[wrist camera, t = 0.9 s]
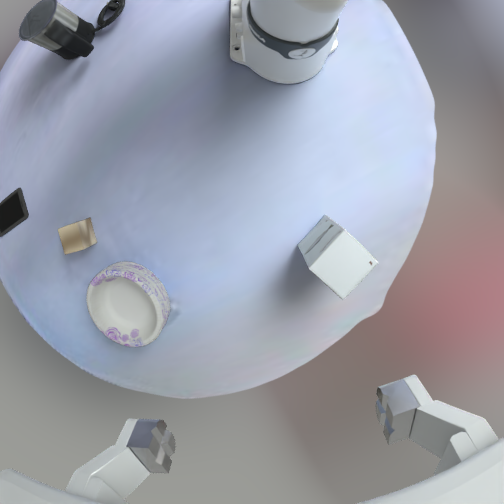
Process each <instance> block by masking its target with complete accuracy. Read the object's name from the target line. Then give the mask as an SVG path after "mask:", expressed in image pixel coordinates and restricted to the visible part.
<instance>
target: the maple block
mask: <svg viewBox="0 0 504 504" xmlns="http://www.w3.org/2000/svg"><path fill="white" fill-rule="evenodd" d="M58 232H59V236H60V239H61V243H62V246H63V249H64V253H65V255H66V254H69V253H73V252H77V251H80V250H84V249H86V248H88V247H90V246H92V245H94V244H95V243H97V240H96V237H95V233H94V230H93V226H92V222H91V219H90V218H88V219H85V220H82V221H79V222H76V223H73V224H70V225H67V226H64V227H62V228H59V229H58Z"/></svg>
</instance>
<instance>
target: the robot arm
mask: <svg viewBox="0 0 504 504" xmlns="http://www.w3.org/2000/svg"><path fill="white" fill-rule="evenodd" d="M347 2H348V0H231V16H230V58H231V59H232V60H233V61H235V62H237V63H240V64H243V65H246V66H248V67H249V68H251V69H252V70H253V71H254V72H256V73H257V74H258V75H260V76H261V77H263V78H265V79H267V80H270V81H273V82H277V83H284V84H293V83H299V82H303V81H306V80H308V79H310V78H312V77H313V76H315V75H316V74H317V73H318V72H319V71H320V70H321V69H322V67H323V65H324V63H325V61H326V59H327V57H328V55H329V54H331V53H332V52H333V51H335V50H336V48H337V46H338V41H337V39H336V36H337V33H338V27H337V26H338V21H339V16H340V14H341V12H342V11H343V9H344V7H345V5H346V4H347ZM236 48H239V50H235V49H236ZM376 394H377V396H378V400H377V402H376V414H377V418H378V421H379V423H380V424H381V425H383V426H384V431H383V433H384V435H385V438H386V440H387V443H388V444H393V443H395V442H398V441H402V440H405V439H408V438H409V439H410V440H412V441H413V442H415V443H417V444H418V445H420V446H421V447H423V448H424V449H426V450H428V451H429V452H431V453H432V454H434V455H436V456H437V457H439V458H441V460H440V462H439V464H438V466H437V468H436V470H435V472H434V474H435V476H432V477H430V478H428V479H426V480H423V481H421V482H418V483H416V484H413V485H411V486H408V487H406V488H403V489H400V490H398V491H395V492H392V493H389V494H386V495H383V496H380V497H377V498H373V499H370V500H367V501H363V502H360V503H356V504H504V437H503V438H501V439H498V437H497V436H496V434H495V433H494V431H493V430H492V428H491V427H490V426H489V424H488V423H487V421H486V420H485V419H484V418H482V417H479V416H477V415H474V414H472V413H469V412H466V411H463V410H461V409H458V408H456V407H453V406H451V405H448V404H445V403H443V402H440V401H438V400H435V401H433V400H432V399H431V397H430V395H429V394H428V392H427V391H426V389H425V388H424V387H423V385H422V383H421V382H420V380H419V379H418V378H417V376H416V375H412V376H409V377H407V378H404V379H400V380H397V381H394V382H392V383H389V384H386V385H383V386H379V387H378V388H377V393H376ZM166 427H167V425H166V423H165V422H164V420H154V419H153V420H152V419H131V418H130V419H128V420H127V421H126V423H125V425H124V427H123V429H122V431H121V434H120V436H119V438H118V440H117V442H116V444H115V446H111V447H109V448H108V449H106V450H105V451H104V452H102V453H101V454H99V455H98V456H96V457H95V458H94V459H92V460H91V461H89V462H88V463H86V464H85V465H83V466H82V467H80V468H79V469H77V470H76V471H75V472H74V474H73V476H72V478H71V480H70V482H69V484H68V486H67V488H66V490H65V491H62V490H59V489H56V488H54V487H51V486H49V485H46V484H44V483H42V482H39V481H37V480H35V479H33V478H30V477H28V476H26V475H24V474H22V473H20V472H18V471H16V470H13V469H6V470H3V471H1V472H0V504H129V503H128V502H127V501H125V500H124V499H125V498H126V497H127V496H128V495H129V494H130V493H131V492H132V491H133V490H134V489H135V488H136V487H137V486H138V485H139V484H140V483H141V482H142V481H143V480H144V479H145V478H146V477H147V476H148V475H149V474H150V472H152V473H169V470H170V466H171V463H172V460H171V459H170V456H171V455H172V454H173V453H174V451H175V439H174V436H173V434H172V433H171V432H170V431H168V430H166Z"/></svg>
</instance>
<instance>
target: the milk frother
mask: <svg viewBox="0 0 504 504" xmlns="http://www.w3.org/2000/svg"><path fill="white" fill-rule="evenodd" d="M116 2H118V3H119V4H118V3H116ZM124 5H125V0H111V1H110V2H107V5H106V6H105V7H104V8H103V9H102V11H101V12H100V14H99V17H98V24H99V25H100V27H98V28H96V29H94V26H93V25H92V24H91V23H88V22H86V21H84V20H83V19H81V18H79V17H78V16H77V15H75V14H74V13H72V12H71V11H70V10H68V9H67V8H65V7H64V6H62V5H61V4H59V3H58V2H57V0H42V1H40V2H39V3H37V4H36V5H35V6H34V7H33V8H32V9H31V10H30V11H29V12H28V13H27V15H26V16H25V18H24V20H23V22H22V23H21V26H20V29H19V37H20V39H21V40H23V41H26V40H28V41H30V42H32V43H35V44H37V45H39V46H41V47H44V48H46V49H48V50H50V51H52V52H55V53H57V54H58V55H60V56H62V58H64V59H67V60H70V59H74V58H76V57H78V56H80V55H81V56H83V57H87V56H88V55H89V54H90V53H91V51H92V50H93V49H94V46H93V45H91V42H92V40H93V38H94V35H95V32H96V31H98V30H100V29H102V28H104V27H106V26H107V25H109V24H110V23H112V22H113V21H114V20H115V19H116V18H117V17H118V16H119V15H120V13H121V12H122V10H123V8H124ZM107 9H110V10H112V11H115V10H116V12H115V13H114V15H113V16H112V17H110V18H109V19H107V20H106V21H103V16H104V14H105V12H106V10H107Z"/></svg>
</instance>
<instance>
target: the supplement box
mask: <svg viewBox="0 0 504 504" xmlns="http://www.w3.org/2000/svg"><path fill="white" fill-rule="evenodd" d="M298 247H299V249H300V251H301V253H302V255H303V257H304V259H305V262H306V264H307V266H308V268H309V269H310V270H311V271H312V272H313V273H314V274H315V275H316V276H317V277H318V278H320V279H321V280H322V281H323V282H324V283H325V284H326V285H327V286H328V287H329V288H330V289H331V290H332V291H333V292H335V293H336V294H337V295H338V296H339V297H340V298H341V299H342V300H343V299H345V298H346V297H347V296H348V295H349V294H350V293H351V291H352V290H353V289H354V288H355V287H356V286H357V285H358V284H359V283H360V282H361V281H362V280H363V279H364V278H365V277H366V276H367V275H368V274H369V273H370V272H371V270H372V269H373V268H374V267H375V266H376V265H377V264H378V261H377V260H376V259H375V258H374V257H373V256H372V255H371V254H370V253H369V252H368V251H367V250H366V249H365V248H364V247H363V246H362V245H361V244H360V243H359V242H358V241H357V240H356V239H355V238H354V237H353V236H352V235H351V234H350V233H348V232H347V231H346V230H345V229H344V228H343V227H341V226H340V225H339V224H338V223H336V222H335V221H334V220H332V219H331V218H330V217H328V216H327V215H324V216H323V218H322V219H321V220H320V221H319V222H318V224H317V225H316V226H315V227H314V228H313V229H312V230H311V231H310V232H309V233H308V234H307V236H306V237H305V238H304V239H303V240H302V241H301V242H300V243H299V244H298Z"/></svg>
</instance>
